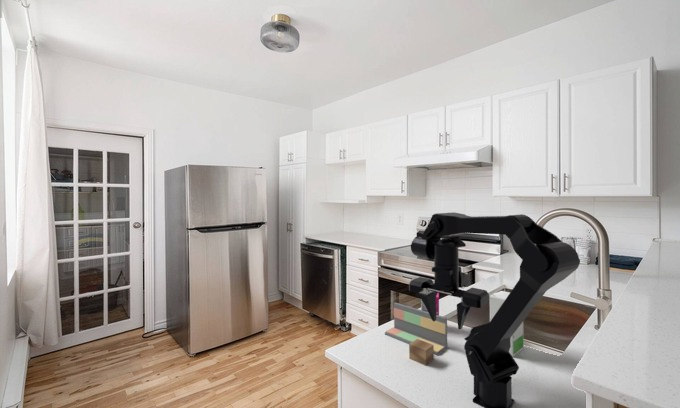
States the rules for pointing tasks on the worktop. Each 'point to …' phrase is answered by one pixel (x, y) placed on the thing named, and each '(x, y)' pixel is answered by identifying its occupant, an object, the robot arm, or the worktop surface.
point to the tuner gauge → (418, 327)
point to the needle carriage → (421, 351)
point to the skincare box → (517, 337)
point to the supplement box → (436, 305)
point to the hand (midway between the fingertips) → (446, 324)
